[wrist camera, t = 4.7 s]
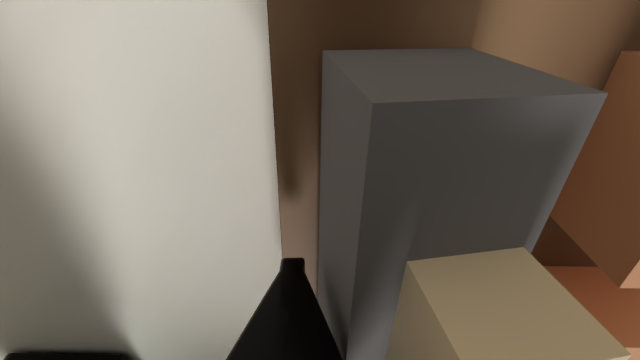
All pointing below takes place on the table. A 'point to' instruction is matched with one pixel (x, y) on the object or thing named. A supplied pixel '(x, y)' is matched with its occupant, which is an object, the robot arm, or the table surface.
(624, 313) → the tile
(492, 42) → the board
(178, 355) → the table surface
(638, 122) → the tile
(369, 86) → the grey and beige block
